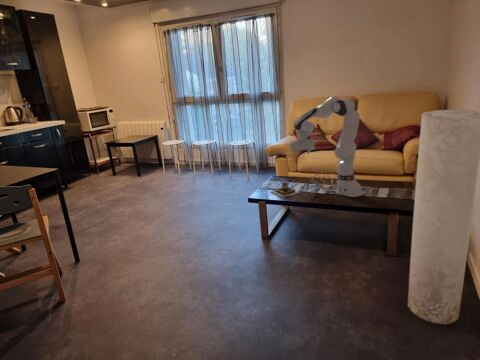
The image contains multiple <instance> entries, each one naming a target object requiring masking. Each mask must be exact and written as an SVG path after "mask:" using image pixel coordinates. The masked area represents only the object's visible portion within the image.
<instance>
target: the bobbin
mask: <svg viewBox="0 0 480 360" xmlns="http://www.w3.org/2000/svg"><path fill="white" fill-rule="evenodd" d="M288 183H289V181H282V182H281V188H282V191H283V192H285V191H289V190H288V187H289V184H288Z"/></svg>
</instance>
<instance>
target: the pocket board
mask: <svg viewBox="0 0 480 360" xmlns="http://www.w3.org/2000/svg"><path fill="white" fill-rule="evenodd" d="M288 190H289V191H285V192H283V191H282V187H279V188H275V189H274V190H272V191H270V193H271V194H273V195H275V196H277V197H279V198H281V199H284V198H285V199H286V198H287V197H291V196H297V195H299V194H300V195H301V192H300V191H299V190H296V189H295V188H292V187H290V186H288Z"/></svg>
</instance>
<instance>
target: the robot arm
mask: <svg viewBox="0 0 480 360" xmlns="http://www.w3.org/2000/svg"><path fill="white" fill-rule="evenodd" d="M357 103H358V102H357V101H356V100H355V99H353V98H341V99H340V98H339V97H338V96H334V95H333V96H330V97H329V98H328V99H326V100H325V101H324V102H323V103H322V104H320V105H319V106H316V107H315V106H314V107H312V108H311V109H309V110H308V111H306V112H305V113H304V114H303V115H301V116H300V117H297V118H296V119H294V121H293V127H294V129H295V130H296V140H291V141H290V142H289V149H290V151H291V152H294V153H295V155H299V153H298V151H306V153H307V154H306V155H309V154H310V152H311V151H313V150H315V143H314V140H313V137H310V136H309V135H312V134H313V133H314V132H315V130H316V126H315V123H313V122H311V121H309V120H310V119H312V118H319V119H320V118H321V119H326V118H329V117H330V116H332V115H333V114H336V115H338V116H340V117H343V123H342V128H341V134H340V136H339V139H338V142H337V144H336V147H335V150H334V156H335V157H336V158H337V159H339V162H338V164H337V165H338V166H337V169H338V171H337V185H336V190H335V193H336V194H338V195H342V196H347V197H350V198H354V197H355V198H356V197H361V196H364V195H365V191H363V190H362V186H361V184H360V183H359V182H358V181H357V180H356V175H355V174H354V161H355V156H356V150H357V144H356V143H355V139H356V138H357V135H358V130H359V126H360V125H359V124H360V112H358V111H357V109H358V104H357Z"/></svg>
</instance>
